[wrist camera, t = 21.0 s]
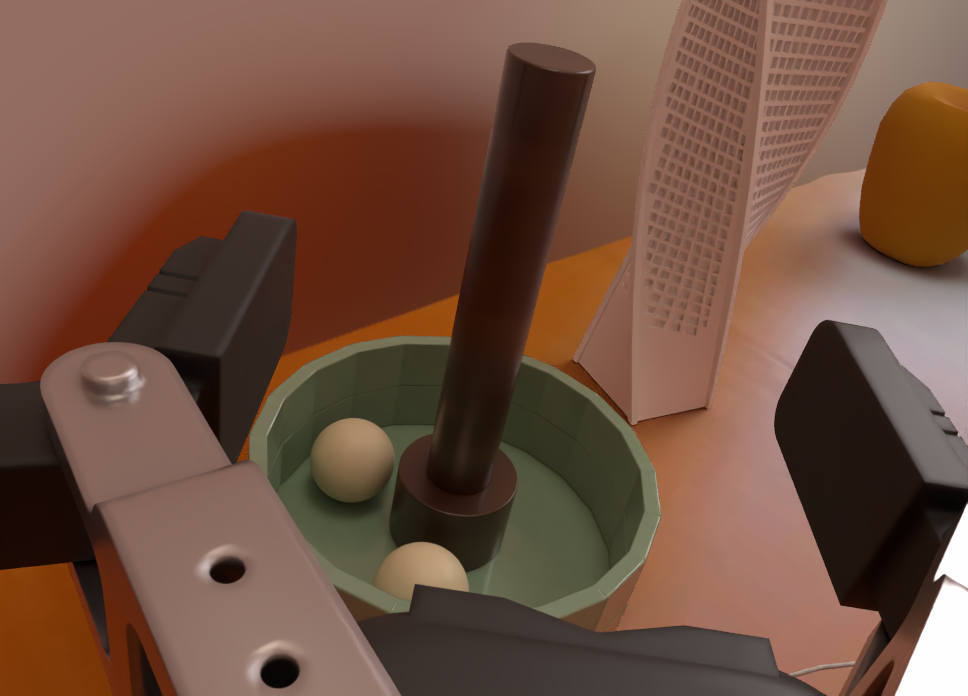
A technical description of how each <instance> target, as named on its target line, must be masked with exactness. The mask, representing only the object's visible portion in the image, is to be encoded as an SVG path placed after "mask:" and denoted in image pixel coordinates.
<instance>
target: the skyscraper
mask: <svg viewBox="0 0 968 696" xmlns="http://www.w3.org/2000/svg"><path fill="white" fill-rule="evenodd" d="M887 1H888V0H682V1H681V4H680V7H679V10H678V13H677V16H676V19H675V22H674V25H673V28H672V31H671V35H670V37H669V41H668V44H667V47H666V50H665V54H664V58H663V61H662V65H661V69H660V73H659V76H658V80H657V84H656V87H655V92H654V97H653V101H652V106H651V111H650V116H649V120H648V124H647V130H646V136H645V142H644V148H643V153H642V159H641V166H640V173H639V181H638V190H637V197H636V205H635V215H634V226H633V238H632V246H631V247H630V249H629V251H628V253H627V255H626V257H625V259H624V261H623V262H622V264H621V266H620V268H619V270H618V272H617V274H616V276H615V278H614V280H613V281H612V283H611V285H610V287H609V289H608V291H607V293H606V295H605V297H604V299H603V301H602V303H601V305H600V306H599V308H598V310H597V312H596V314H595V316H594V318H593V320H592V322H591V324H590V326H589V328H588V330H587V332H586V334H585V336H584V338H583V339H582V341H581V343H580V345H579V347H578V349H577V351H576V353H575V355H574V357H573V360H574V361H575V362H576V363H578V362H579V363H580V364H581V365H582V367H583V368H584V369H585V370H586V371H587V372H588V373H589V374H590V375H591V377H592V378H593V379H594V380H595V381H596V382H597V383H598V384H599V385H600V387H601V388H602V389H603V390H604V391H605V392H606V393H607V394H608V395H609V397H610V398H611V399H612V400H613V401H614V402H615V403H616V404H617V406H618V407H619V408H620V409H621V410H622V411H623V412H624V413H625V414H626V416H627V417H628V422H629V423H630V424H631V425H635V424H637V421H640V420H645V419H650V418H654V417H659V416H664V415H668V414H673V413H678V412H682V411H687V410H691V409H696V408H701V407H706V408H707V409H709V408H710V407H711V406H712V404H713V400H714V396H715V391H716V387H717V383H718V378H719V374H720V369H721V365H722V360H723V355H724V351H725V346H726V342H727V337H728V333H729V328H730V323H731V318H732V313H733V308H734V304H735V298H736V293H737V288H738V283H739V277H740V272H741V267H742V261H743V255H744V250H745V248H746V247H747V246H748V245H749V243H750V242H751V241H752V240H753V238H754V237H755V236H756V235H757V233H758V232H759V231H760V230H761V228H762V227H763V226H764V224H765V223H766V222H767V221H768V219H769V218H770V217H771V215H772V214H773V213H774V212H775V210H776V209H777V208H778V206H779V205H780V203H781V202H782V201H783V199H784V198H785V196H786V195H787V194H788V192H789V191H790V189H791V188H792V187H793V185H794V184H795V182H796V181H797V179H798V178H799V176H800V175H801V173H802V172H803V170H804V169H805V167H806V166H807V164H808V163H809V161H810V160H811V158H812V156H813V155H814V153H815V152H816V150H817V149H818V147H819V145H820V144H821V142H822V140H823V138H824V137H825V135H826V133H827V131H828V130H829V128H830V126H831V125H832V123H833V121H834V120H835V118H836V116H837V114H838V112H839V110H840V108H841V106H842V104H843V102H844V101H845V99H846V97H847V95H848V93H849V91H850V89H851V87H852V85H853V83H854V80H855V79H856V76H857V74H858V72H859V70H860V68H861V65H862V63H863V61H864V59H865V56H866V54H867V52H868V49H869V47H870V45H871V42H872V40H873V37H874V35H875V32H876V30H877V27H878V25H879V22H880V20H881V17H882V15H883V12H884V10H885V7H886V4H887Z"/></svg>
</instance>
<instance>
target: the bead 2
mask: <svg viewBox="0 0 968 696" xmlns="http://www.w3.org/2000/svg"><path fill="white" fill-rule="evenodd" d="M415 584H420V585H426V586H433V587H439V588H446V589H452V590H458V591H465V592H469V584H468V580H467V576H466V573H465V571H464V568H463V567H462V565H461V563H460V562H459V561H458V559H457V558H456V557H455V556H454V555H453V554H452V553H451V552H449V551H448V550H446V549H445V548H443V547H441V546H439V545H436V544H433V543H427V542H414V543H410V544H406V545H403V546H401V547H399V548H397V549H396V550H394V551H393V552H391V553H390V554H389V555H388V556H387V557H386V558H385V559H384V560H383V561H382V562H381V564H380V566H379V567H378V569H377V571H376V573H375V576H374V578H373V583H372V586H374V587H376V588H378V589H380V590H382V591H384V592H386V593H388V594H390V595H392V596H395V597H397V598H399V599H404V600H409V601H411V599H412V594H413V590H414V585H415Z"/></svg>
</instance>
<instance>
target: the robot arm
mask: <svg viewBox="0 0 968 696" xmlns="http://www.w3.org/2000/svg"><path fill="white" fill-rule="evenodd" d="M296 236H297V226H296V221H295V220H294V219H290V218H284V217H279V216H273V215H268V214H263V213H258V212H252V211H247V210H244V211H242V213H241V214H240V215H239V217H238V218H237V220H236V221H235V223H234V225H233V226H232V228H231V229H230V231H229V232H228V234H227V235H226V237H225V238H224V240H220V239H214V238H209V237H203V236H201V237H199V238H197V239H195V240H193V241H191V242H189V243H188V244H186V245H184V246H182V247H180V248H178V249H176V250H174V251H173V253H172V254H171V256H170V257H169V258H168V260H167V261H166V262H165V264H164V265H163V266H162V268H161V269H160V273H159V274H157V275H156V276H155V277H154V279H153V280H152V281H151V283H150V284H149V285H148V289H147V291H144V292H143V293H142V295H141V296H140V298H139V299H138V300H137V302H136V303H135V305H134V306H133V307H132V308H131V310H130V311H129V313H128V314H127V315H126V317H125V318H124V319H123V321H122V322H121V323H120V325H119V326H118V327H117V329H116V330H115V332H114V333H113V334H112V336H111V337H110V338H109V340H108V341H107V342H106V343H99V344H92V345H88V346H84V347H81V348H78V349H75V350H72V351H70V352H68V353H66V354H64V355H62V356H61V357H59V358H58V359H56V360H55V361H54V362H52V363H51V364H50V365H49V366H48V367H47V369H46V370H45V371H44V373H43V376H42V378H41V381H36V382H30V383H18V384H0V570H4V569H13V568H22V567H31V566H41V565H50V564H59V563H67V565H68V567H69V570H70V573H71V576H72V579H73V581H74V584H75V587H76V590H77V593H78V595H79V598H80V601H81V604H82V607H83V610H84V612H85V615H86V618H87V621H88V624H89V626H90V629H91V632H92V635H93V638H94V640H95V643H96V646H97V649H98V652H99V654H100V657H101V660H102V663H103V666H104V668H105V671H106V674H107V677H108V680H109V683H110V687H111V690H112V694H113V696H827V695H825V694H823V693H822V692H820V691H818V690H817V689H815V688H813V687H812V686H810V685H809V684H807V683H805V682H803V681H801V680H799V679H797V678H795V677H793V676H791V675H789V674H787V673H784V672H782V671H779V670H778V668H777V665H776V661H775V658H774V654H773V651H772V647H771V644H770V640H769V639H768V638H762V637H755V636H749V635H742V634H736V633H729V632H723V631H716V630H710V629H704V628H697V627H691V626H672V627H660V628H648V629H636V630H624V631H612V632H597V631H592V630H588V629H585V628H583V627H580V626H578V625H575V624H572V623H570V622H567V621H564V620H562V619H559V618H556V617H554V616H551V615H549V614H546V613H543V612H541V611H538V610H535V609H533V608H530V607H528V606H525V605H522V604H520V603H517V602H514V601H512V600H509V599H506V598H504V597H497V596H491V595H484V594H478V593H471V592H465V591H458V590H452V589H446V588H439V587H433V586H426V585H420V584H415V585H414V590H413V594H412V599H411V604H410V608H409V612H399V613H390V614H385V615H380V616H375V617H370V618H367V619H364V620H361V621H358V622H356V621H355V620H354V618H353V616H352V615H351V613H350V612H349V610H348V608H347V607H346V605H345V604H344V602H343V600H342V599H341V597H340V595H339V594H338V592H337V591H336V589H335V587H334V586H333V584H332V582H331V581H330V579H329V578H328V576H327V574H326V573H325V571H324V570H323V568H322V566H321V565H320V563H319V561H318V560H317V558H316V557H315V555H314V553H313V552H312V550H311V548H310V547H309V545H308V544H307V542H306V540H305V539H304V537H303V535H302V534H301V532H300V531H299V529H298V527H297V526H296V524H295V523H294V521H293V519H292V518H291V516H290V514H289V513H288V511H287V510H286V508H285V506H284V505H283V503H282V501H281V500H280V498H279V497H278V495H277V493H276V492H275V490H274V488H273V487H272V485H271V484H270V482H269V480H268V479H267V477H266V476H265V474H264V473H263V471H262V470H261V468H260V467H259V466H258V465H257V464H256V463H255V462H254V461H252V460H244V461H241V462H238V463H236V462H237V460H238V457H239V455H240V452H241V450H242V448H243V445H244V443H245V441H246V438H247V436H248V433H249V431H250V429H251V426H252V424H253V421H254V419H255V417H256V414H257V412H258V409H259V407H260V405H261V402H262V400H263V398H264V395H265V393H266V390H267V388H268V386H269V383H270V381H271V378H272V376H273V374H274V371H275V369H276V366H277V364H278V362H279V359H280V357H281V355H282V352H283V349H284V347H285V343H286V340H287V336H288V331H289V326H290V320H291V313H292V298H293V284H294V269H295V254H296V238H297V237H296ZM944 415H945V412H944V410H943V409H942V407H941V406H940V404H939V403H938V401H937V400H936V398H935V397H934V395H933V394H932V392H931V391H930V389H929V388H928V387H927V386H925V385H924V384H923V383H922V382H921V381H920V380H919V379H917V378H916V377H915V376H914V375H913V374H912V373H910V372H909V371H908V370H907V369H906V368H905V367H903V366H901V365H900V363H899V362H898V360H897V359H896V357H895V356H894V354H893V352H892V351H891V349H890V348H889V346H888V345H887V343H886V342H885V340H884V338H883V337H882V335H881V334H880V333H879V331H877V330H876V329H873V328H869V327H863V326H858V325H853V324H847V323H842V322H836V321H831V320H825V321H822V322H821V323H820V324H819V325H818V326H817V327H816V328H815V329H814V331H813V333H812V335H811V337H810V339H809V341H808V343H807V345H806V346H805V348H804V350H803V352H802V354H801V356H800V358H799V360H798V362H797V364H796V366H795V368H794V370H793V372H792V374H791V376H790V378H789V380H788V382H787V384H786V386H785V388H784V390H783V392H782V394H781V396H780V399H779V401H778V404H777V408H776V412H775V420H774V428H775V435H776V439H777V441H778V444H779V447H780V449H781V452H782V454H783V457H784V460H785V462H786V465H787V467H788V470H789V473H790V475H791V478H792V480H793V483H794V486H795V488H796V491H797V493H798V496H799V499H800V501H801V504H802V506H803V509H804V512H805V514H806V517H807V519H808V522H809V525H810V527H811V530H812V532H813V535H814V538H815V540H816V543H817V545H818V548H819V551H820V553H821V556H822V558H823V561H824V564H825V566H826V569H827V571H828V574H829V577H830V579H831V582H832V584H833V587H834V590H835V592H836V595H837V597H838V600H839V603H840V605H841V606H847V607H854V608H860V609H866V610H873V611H878V612H879V614H880V616H881V620H880V622H879V623H878V624H877V626H876V627H875V629H874V630H873V631H872V633H871V634H870V635H869V637H868V639H867V641H866V643H865V645H864V647H863V649H862V651H861V653H860V655H859V657H858V659H857V661H856V663H855V665H854V667H853V669H852V671H851V673H850V675H849V677H848V679H847V681H846V682H845V684H844V686H843V688H842V690H841V692H840V694H839V696H968V446H967V445H966V443H965V442H964V440H963V439H962V437H958V436H957V434H958V431H957V430H956V428H955V427H954V425H953V424H952V422H951V421H950V419H949V418H948V417H945V416H944Z"/></svg>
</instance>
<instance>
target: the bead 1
mask: <svg viewBox="0 0 968 696" xmlns="http://www.w3.org/2000/svg"><path fill="white" fill-rule="evenodd" d="M394 464H395V454H394V449H393V446H392V443H391V441H390V439H389V437H388V436H387V435H386V433H385V432H384V431H383V430H382V429H381V428H380V427H378V426H377V425H376V424H374V423H372V422H370V421H367V420H364V419H360V418H347V419H342V420H339V421H337V422H334V423H332V424H331V425H329V426H328V427H326V428H325V429H324V430H323V431H322V432H321V433H320V434H319V436H318V437H317V439H316V440H315V442H314V444H313V447H312V450H311V455H310V468H311V473H312V475H313V478H314V480H315V482H316V484H317V485H318V486H319V488H320V489H321V490H322V491H323V492H324V493H325V494H327V495H328V496H330V497H331V498H333V499H336V500H338V501H342V502H349V503H354V502H361V501H365V500H367V499H370V498H372V497H373V496H375V495H377V494H378V493H379V492H380V491H381V490H382V489H383V488H384V487H385V486H386V485H387V483H388V482H389V480H390V478H391V476H392V473H393V469H394Z"/></svg>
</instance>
